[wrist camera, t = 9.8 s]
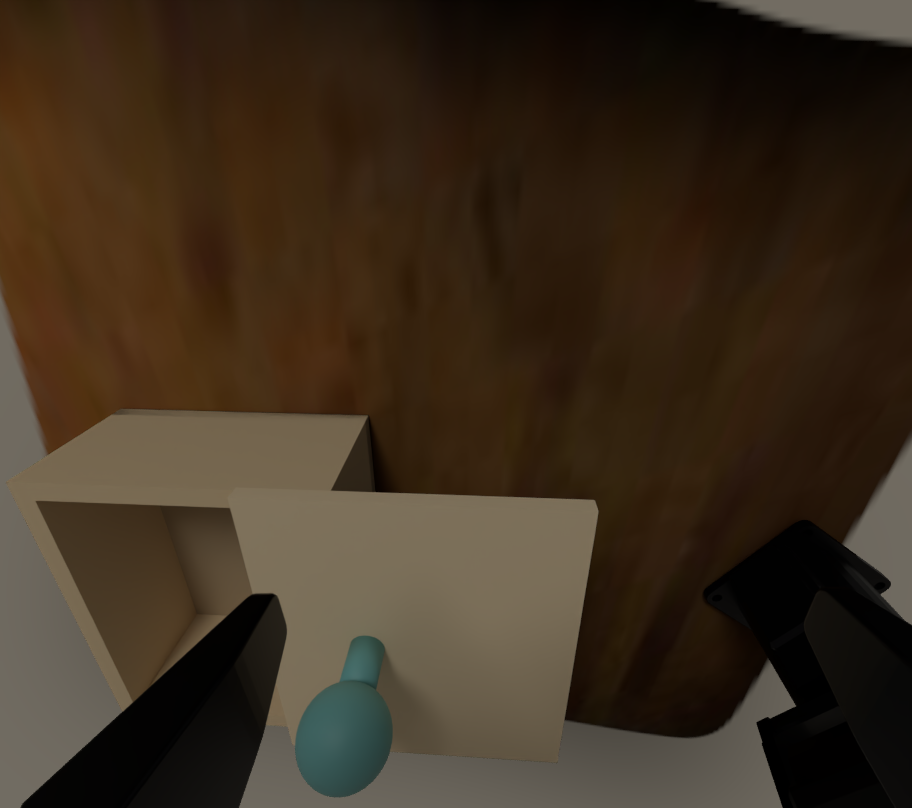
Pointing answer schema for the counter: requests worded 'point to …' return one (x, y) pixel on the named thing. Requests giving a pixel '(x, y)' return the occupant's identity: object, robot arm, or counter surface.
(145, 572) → the carton
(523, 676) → the carton lid
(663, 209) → the counter surface
